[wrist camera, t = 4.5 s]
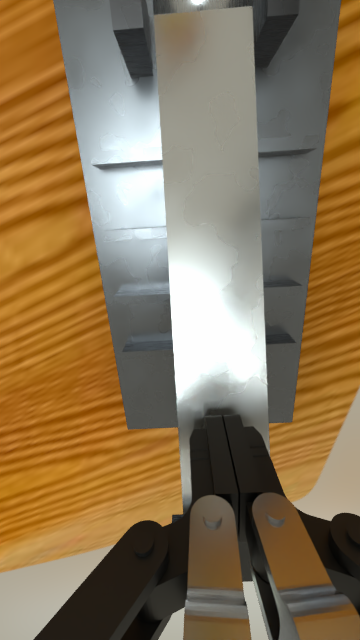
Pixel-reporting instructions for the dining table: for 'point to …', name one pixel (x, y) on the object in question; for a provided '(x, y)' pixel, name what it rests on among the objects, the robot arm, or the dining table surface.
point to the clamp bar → (212, 217)
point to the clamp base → (148, 184)
